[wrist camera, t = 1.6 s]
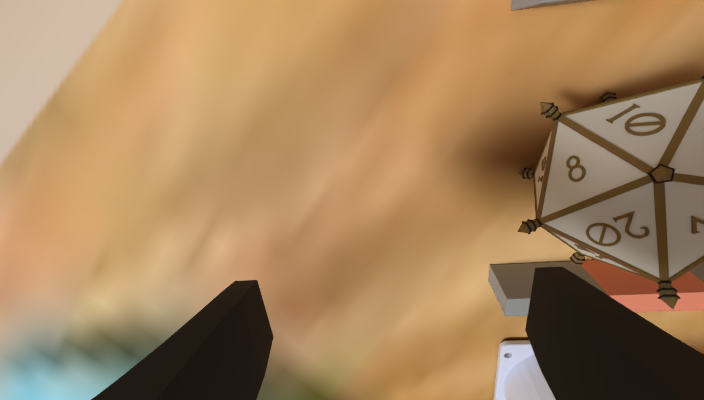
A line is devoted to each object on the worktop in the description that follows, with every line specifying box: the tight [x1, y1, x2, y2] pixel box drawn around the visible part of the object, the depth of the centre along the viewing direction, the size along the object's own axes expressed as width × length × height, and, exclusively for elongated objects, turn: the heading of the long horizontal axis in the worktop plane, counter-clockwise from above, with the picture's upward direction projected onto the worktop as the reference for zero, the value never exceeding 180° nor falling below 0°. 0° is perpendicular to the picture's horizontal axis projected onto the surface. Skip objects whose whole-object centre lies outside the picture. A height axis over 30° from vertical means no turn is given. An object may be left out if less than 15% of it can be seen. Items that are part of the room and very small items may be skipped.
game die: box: [518, 75, 704, 309], centre depth 13 cm, size 9×8×10 cm
